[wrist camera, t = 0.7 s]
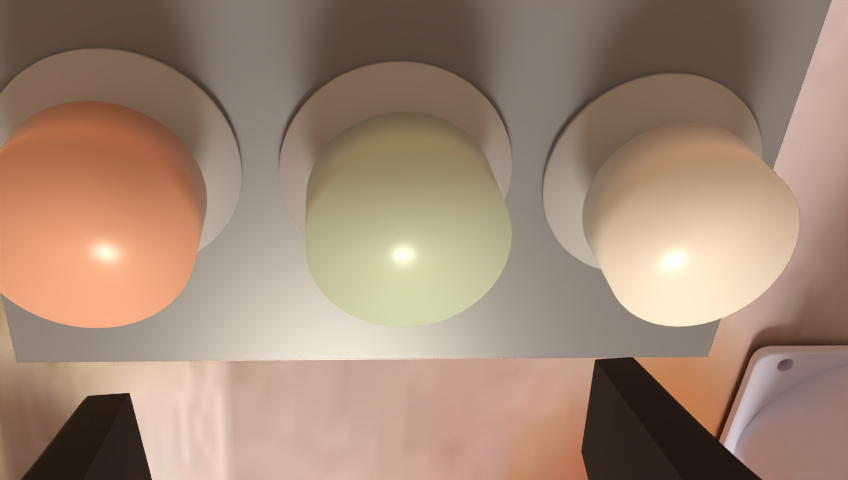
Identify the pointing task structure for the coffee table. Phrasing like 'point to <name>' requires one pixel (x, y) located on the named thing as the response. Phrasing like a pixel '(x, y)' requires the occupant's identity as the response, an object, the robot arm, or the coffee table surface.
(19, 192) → the terracotta button
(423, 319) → the sage button
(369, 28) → the console
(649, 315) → the cream button
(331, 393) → the coffee table surface
